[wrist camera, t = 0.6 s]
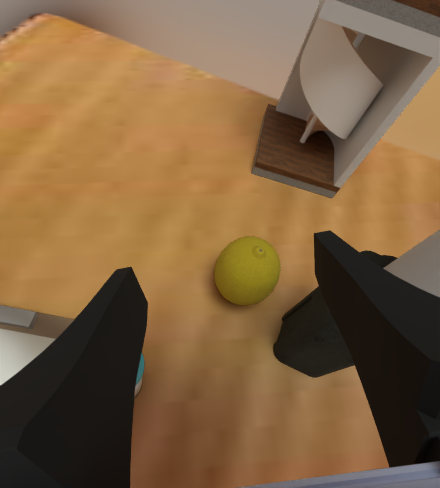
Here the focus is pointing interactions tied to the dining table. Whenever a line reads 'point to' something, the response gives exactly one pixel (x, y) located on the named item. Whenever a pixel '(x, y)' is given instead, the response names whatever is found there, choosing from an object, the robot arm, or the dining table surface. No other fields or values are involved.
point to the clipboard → (25, 337)
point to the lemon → (247, 270)
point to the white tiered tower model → (347, 89)
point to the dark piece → (324, 326)
